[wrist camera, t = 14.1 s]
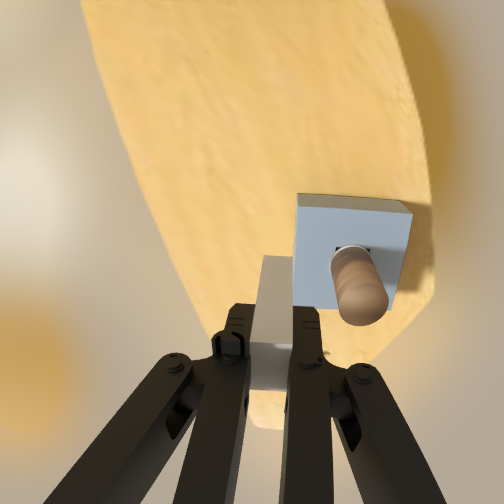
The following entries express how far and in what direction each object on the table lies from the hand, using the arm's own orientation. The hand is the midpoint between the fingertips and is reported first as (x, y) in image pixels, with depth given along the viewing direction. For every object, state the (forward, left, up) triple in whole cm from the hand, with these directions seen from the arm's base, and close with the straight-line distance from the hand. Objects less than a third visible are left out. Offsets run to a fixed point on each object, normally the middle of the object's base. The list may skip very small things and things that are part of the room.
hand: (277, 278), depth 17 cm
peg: (+12, +10, -29) cm, 33 cm away
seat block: (+12, +10, -30) cm, 34 cm away
